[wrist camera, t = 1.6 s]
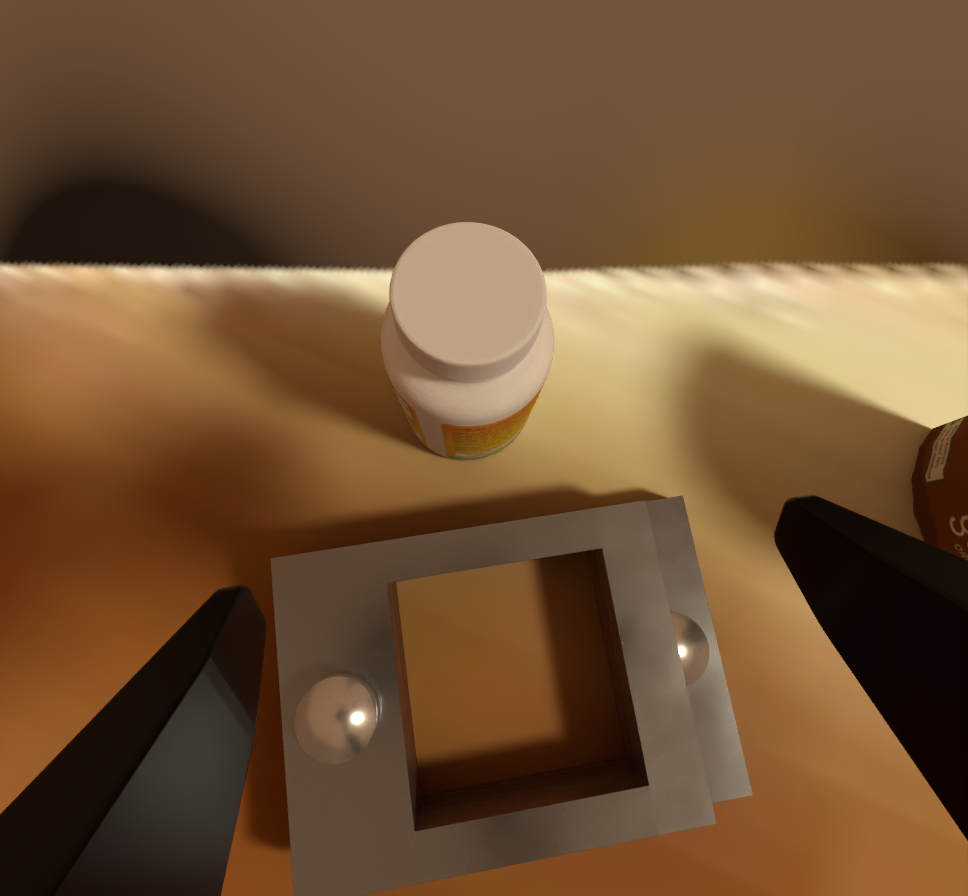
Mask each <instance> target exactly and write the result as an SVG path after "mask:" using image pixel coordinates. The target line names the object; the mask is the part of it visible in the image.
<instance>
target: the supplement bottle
mask: <svg viewBox="0 0 968 896" xmlns="http://www.w3.org/2000/svg"><path fill="white" fill-rule="evenodd" d="M546 302H547V292H546V284H545V279H544V275H543V273H542V270H541V267H540V265H539V263H538V262H537V260H536V258H535V257H534V256H533V254H532V253H531V251H530V250H529V249H528V248H527V247H526V246H525V245H524V244H523V243H522V242H521V241H520V240H518V239H517V238H515V237H514V236H512V235H511V234H509V233H507V232H506V231H504V230H501V229H499V228H496V227H494V226H490V225H487V224H482V223H474V222H460V223H452V224H447V225H444V226H440V227H437V228H435V229H433V230H431V231H429V232H427V233H425V234H423V235H422V236H420V237H419V238H417V239H416V240H415V241H414V242H413V243H412V244H410V245H409V246H408V248H407V249H406V250H405V251H404V253H403V254H402V255H401V257H400V258H399V260H398V262H397V264H396V266H395V269H394V271H393V274H392V278H391V282H390V302H389V304H388V306H387V308H386V311H385V314H384V317H383V321H382V327H381V339H380V344H381V353H382V358H383V362H384V365H385V369H386V372H387V375H388V377H389V379H390V382H391V384H392V386H393V388H394V390H395V393H396V395H397V398H398V400H399V402H400V404H401V406H402V409H403V411H404V414H405V416H406V418H407V421H408V423H409V425H410V426H411V428H412V430H413V432H414V433H415V434H416V436H417V437H418V438H419V440H420V441H421V442H422V443H423V444H424V445H425V446H426V447H428V448H429V449H430V450H432V451H433V452H435V453H437V454H439V455H441V456H443V457H446V458H449V459H452V460H459V461H476V460H482V459H486V458H489V457H491V456H494V455H496V454H498V453H499V452H501V451H503V450H504V449H505V448H507V447H508V446H509V445H510V444H511V443H512V442H513V441H514V440H515V439H516V437H517V436H518V435H519V433H520V432H521V430H522V429H523V427H524V425H525V423H526V421H527V419H528V416H529V414H530V412H531V410H532V408H533V406H534V404H535V402H536V400H537V398H538V396H539V393H540V391H541V389H542V386H543V384H544V382H545V380H546V377H547V375H548V372H549V369H550V366H551V362H552V358H553V351H554V330H553V324H552V320H551V317H550V314H549V311H548V309H547V307H546Z"/></svg>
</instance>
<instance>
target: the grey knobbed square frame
mask: <svg viewBox="0 0 968 896" xmlns="http://www.w3.org/2000/svg"><path fill="white" fill-rule="evenodd" d="M582 551H587V552H588V558H589V563H590V568H591V573H592V578H593V584H594V589H595V594H596V599H597V604H598V610H599V615H600V620H601V625H602V630H603V636H604V641H605V646H606V651H607V657H608V662H609V667H610V672H611V677H612V683H613V688H614V693H615V698H616V703H617V709H618V714H619V719H620V724H621V729H622V735H623V740H624V745H625V750H626V755H627V757H624V758H619V759H614V760H608V761H603V762H598V763H593V764H587V765H582V766H577V767H572V768H566V769H561V770H556V771H551V772H546V773H540V774H535V775H530V776H525V777H519V778H514V779H509V780H504V781H499V782H493V783H488V784H483V785H478V786H472V787H467V788H462V789H457V790H451V791H446V792H441V793H436V794H431V795H425V796H421V794H420V785H419V777H418V768H417V760H416V751H415V742H414V734H413V725H412V717H411V708H410V699H409V691H408V682H407V674H406V665H405V656H404V648H403V639H402V631H401V622H400V614H399V605H398V596H397V588H396V581H402V580H408V579H414V578H420V577H427V576H433V575H439V574H445V573H451V572H458V571H464V570H470V569H476V568H482V567H489V566H495V565H501V564H507V563H513V562H520V561H526V560H532V559H538V558H544V557H551V556H557V555H563V554H569V553H576V552H582ZM271 573H272V587H273V602H274V616H275V631H276V645H277V660H278V674H279V688H280V703H281V717H282V732H283V746H284V761H285V775H286V790H287V804H288V819H289V833H290V848H291V862H292V877H293V891H294V896H362V895H367V894H372V893H377V892H382V891H387V890H392V889H397V888H402V887H407V886H412V885H417V884H421V883H426V882H431V881H436V880H441V879H446V878H451V877H456V876H461V875H466V874H471V873H476V872H480V871H485V870H490V869H495V868H500V867H505V866H510V865H515V864H520V863H525V862H530V861H535V860H539V859H544V858H549V857H554V856H559V855H564V854H569V853H574V852H579V851H584V850H589V849H594V848H598V847H603V846H608V845H613V844H618V843H623V842H628V841H633V840H638V839H643V838H648V837H653V836H657V835H662V834H667V833H672V832H677V831H682V830H687V829H692V828H697V827H702V826H707V825H712V824H716V819H715V815H714V810H713V805H712V803H715V802H720V801H725V800H730V799H735V798H740V797H745V796H750V795H753V794H752V790H751V786H750V781H749V777H748V773H747V769H746V764H745V760H744V756H743V751H742V747H741V743H740V739H739V734H738V730H737V726H736V722H735V717H734V713H733V709H732V704H731V700H730V696H729V692H728V687H727V683H726V679H725V675H724V670H723V666H722V662H721V657H720V653H719V649H718V645H717V640H716V636H715V632H714V628H713V623H712V619H711V615H710V610H709V606H708V602H707V598H706V593H705V589H704V585H703V581H702V576H701V572H700V568H699V563H698V559H697V555H696V551H695V546H694V542H693V538H692V534H691V529H690V525H689V521H688V516H687V512H686V508H685V504H684V499H683V496H677V497H671V498H664V499H658V500H651V501H646V500H643V501H637V502H630V503H624V504H617V505H611V506H604V507H598V508H591V509H585V510H579V511H572V512H566V513H559V514H553V515H546V516H540V517H533V518H527V519H521V520H514V521H508V522H501V523H495V524H488V525H482V526H475V527H469V528H463V529H456V530H450V531H443V532H437V533H430V534H424V535H418V536H411V537H405V538H398V539H392V540H385V541H379V542H372V543H366V544H360V545H353V546H347V547H340V548H334V549H327V550H321V551H314V552H308V553H302V554H295V555H289V556H282V557H276V558H271Z"/></svg>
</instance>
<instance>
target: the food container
mask: <svg viewBox="0 0 968 896" xmlns="http://www.w3.org/2000/svg"><path fill="white" fill-rule="evenodd" d="M912 493H913V508H914V515H915V518H916V520H917V523H918V526H919V528H920V531H921V534H922V536H923V539H924V542H926V543H928V544H930V545H933V546H935V547H937V548H940V549H942V550H944V551H947V552H949V553H951V554H954V555H956V556H959V557H961V558H963V559H966V560H968V416H965V417H963V418H960V419H957V420H955V421H952V422H949V423H947V424H944V425H941V426H939V427H936V428H933V429H932V430H931V431H930V433H929V434H928V436H927V437H926V439H925V440H924V442H923V444H922V445H921V447H920V448H919V452H918V456H917V460H916V464H915V468H914V471H913V475H912Z"/></svg>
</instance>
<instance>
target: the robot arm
mask: <svg viewBox="0 0 968 896" xmlns="http://www.w3.org/2000/svg"><path fill="white" fill-rule="evenodd" d="M774 538H775V543H776V546H777V548H778V550H779V552H780V554H781V556H782V557H783V559H784V561H785V563H786V565H787V566H788V568H789V570H790V572H791V574H792V576H793V577H794V579H795V581H796V583H797V585H798V586H799V588H800V590H801V592H802V594H803V595H804V597H805V599H806V601H807V603H808V605H809V606H810V608H811V610H812V612H813V614H814V615H815V617H816V619H817V620H818V622H819V624H820V625H821V627H822V629H823V630H824V632H825V633H826V635H827V636H828V638H829V639H830V641H831V642H832V644H833V645H834V647H835V648H836V650H837V651H838V652H839V654H840V655H841V657H842V658H843V660H844V661H845V663H846V664H847V666H848V667H849V668H850V670H851V671H852V673H853V674H854V676H855V677H856V679H857V680H858V682H859V683H860V685H861V686H862V687H863V689H864V690H865V692H866V693H867V695H868V696H869V698H870V699H871V701H872V702H873V703H874V705H875V706H876V708H877V709H878V711H879V712H880V714H881V715H882V717H883V718H884V719H885V721H886V722H887V724H888V725H889V727H890V728H891V730H892V731H893V733H894V734H895V736H896V737H897V738H898V740H899V741H900V743H901V744H902V746H903V747H904V749H905V750H906V752H907V753H908V754H909V756H910V757H911V759H912V760H913V762H914V763H915V765H916V766H917V768H918V769H919V771H920V772H921V773H922V775H923V776H924V778H925V779H926V781H927V782H928V784H929V785H930V787H931V788H932V789H933V791H934V792H935V794H936V795H937V797H938V798H939V800H940V801H941V803H942V804H943V805H944V807H945V808H946V810H947V811H948V813H949V814H950V816H951V817H952V819H953V820H954V822H955V823H956V824H957V826H958V827H959V829H960V830H961V832H962V833H963V835H964V836H965V838H966V839H967V840H968V560H966V559H963V558H961V557H959V556H956V555H954V554H951V553H949V552H947V551H944V550H942V549H940V548H937V547H935V546H933V545H930V544H928V543H926V542H923V541H921V540H919V539H916V538H914V537H912V536H909V535H907V534H905V533H902V532H900V531H898V530H895V529H893V528H891V527H888V526H886V525H884V524H881V523H879V522H877V521H874V520H872V519H870V518H867V517H865V516H863V515H860V514H858V513H855V512H853V511H851V510H848V509H846V508H844V507H841V506H839V505H837V504H834V503H832V502H830V501H827V500H825V499H823V498H820V497H818V496H815V495H805V496H799V497H793V498H789V499H788V500H787V501H786V502H785V503H784V505H783V508H782V511H781V514H780V517H779V520H778V523H777V526H776V529H775V533H774ZM265 638H266V622H265V618H264V615H263V613H262V611H261V609H260V607H259V605H258V604H257V602H256V600H255V598H254V596H253V594H252V592H251V590H250V589H249V588H248V587H247V586H245V585H238V586H232V587H226V588H221V589H219V590H217V591H216V592H215V593H214V594H213V595H212V596H211V597H210V598H209V599H208V600H207V601H206V602H205V603H204V604H203V605H202V606H201V607H200V608H199V609H198V610H197V611H196V612H195V613H194V614H193V615H192V616H191V617H190V618H189V619H188V620H187V622H186V623H185V624H184V625H183V626H182V627H181V628H180V629H179V630H178V631H177V632H176V633H175V634H174V635H173V636H172V637H171V638H170V639H169V640H168V641H167V642H166V643H165V644H164V645H163V646H162V647H161V648H160V649H159V651H158V652H157V653H156V654H155V655H154V656H153V657H152V658H151V659H150V660H149V661H148V662H147V663H146V664H145V665H144V666H143V667H142V668H141V669H140V670H139V671H138V672H137V673H136V674H135V675H134V676H133V677H132V678H131V680H130V681H129V682H128V683H127V684H126V685H125V686H124V687H123V688H122V689H121V690H120V691H119V692H118V693H117V694H116V695H115V696H114V697H113V698H112V699H111V700H110V701H109V702H108V703H107V704H106V705H105V706H104V707H103V709H102V710H101V711H100V712H99V713H98V714H97V715H96V716H95V717H94V718H93V719H92V720H91V721H90V722H89V723H88V724H87V725H86V726H85V727H84V728H83V729H82V730H81V731H80V732H79V733H78V734H77V735H76V736H75V738H74V739H73V740H72V741H71V742H70V743H69V744H68V745H67V746H66V747H65V748H64V749H63V750H62V751H61V752H60V753H59V754H58V755H57V756H56V757H55V758H54V759H53V760H52V761H51V762H50V763H49V764H48V765H47V767H46V768H45V769H44V770H43V771H42V772H41V773H40V774H39V775H38V776H37V777H36V778H35V779H34V780H33V781H32V782H31V783H30V784H29V785H28V786H27V787H26V788H25V789H24V790H23V791H22V792H21V793H20V794H19V796H18V797H17V798H16V799H15V800H14V801H13V802H12V803H11V804H10V805H9V806H8V807H7V808H6V809H5V810H4V811H3V812H2V813H1V814H0V896H221V891H222V887H223V882H224V877H225V873H226V868H227V863H228V859H229V854H230V849H231V844H232V840H233V835H234V830H235V826H236V821H237V816H238V812H239V807H240V802H241V797H242V793H243V788H244V783H245V779H246V774H247V769H248V765H249V760H250V755H251V750H252V746H253V741H254V735H255V730H256V724H257V716H258V707H259V697H260V687H261V677H262V668H263V658H264V648H265Z"/></svg>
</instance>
